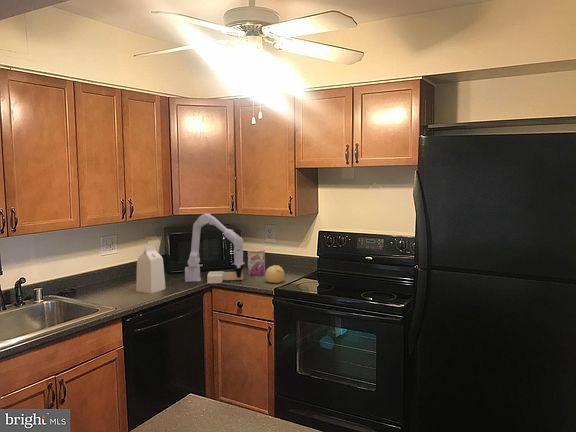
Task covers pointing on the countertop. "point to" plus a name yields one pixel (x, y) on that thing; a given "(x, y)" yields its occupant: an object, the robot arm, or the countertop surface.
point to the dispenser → (214, 277)
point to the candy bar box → (256, 262)
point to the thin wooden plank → (231, 276)
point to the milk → (150, 271)
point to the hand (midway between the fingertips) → (239, 277)
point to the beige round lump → (274, 274)
